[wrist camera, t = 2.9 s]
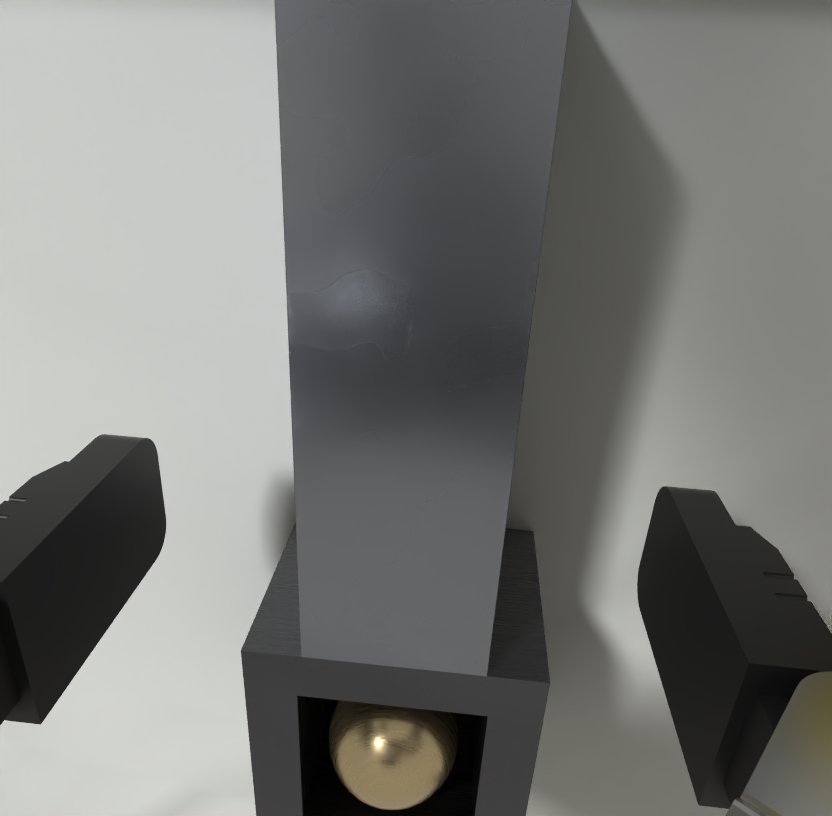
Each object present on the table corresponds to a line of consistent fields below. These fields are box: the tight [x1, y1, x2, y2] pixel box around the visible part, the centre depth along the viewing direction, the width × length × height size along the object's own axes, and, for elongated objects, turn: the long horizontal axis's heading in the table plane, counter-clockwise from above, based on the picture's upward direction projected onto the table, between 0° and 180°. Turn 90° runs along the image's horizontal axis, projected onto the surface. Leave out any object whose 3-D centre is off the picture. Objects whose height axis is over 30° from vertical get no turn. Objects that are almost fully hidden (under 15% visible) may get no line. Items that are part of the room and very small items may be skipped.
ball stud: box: [329, 700, 458, 810], centre depth 13 cm, size 2×2×4 cm
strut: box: [241, 0, 572, 816], centre depth 11 cm, size 15×5×4 cm, turn 177°
